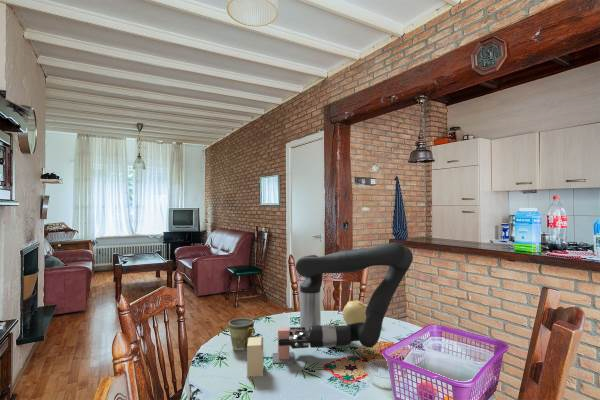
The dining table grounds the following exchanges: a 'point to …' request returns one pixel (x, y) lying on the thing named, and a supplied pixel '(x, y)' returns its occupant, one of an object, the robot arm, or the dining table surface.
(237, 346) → the ceramic cup
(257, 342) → the block
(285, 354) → the stub
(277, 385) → the dining table surface
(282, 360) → the felt pad
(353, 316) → the round fruit
